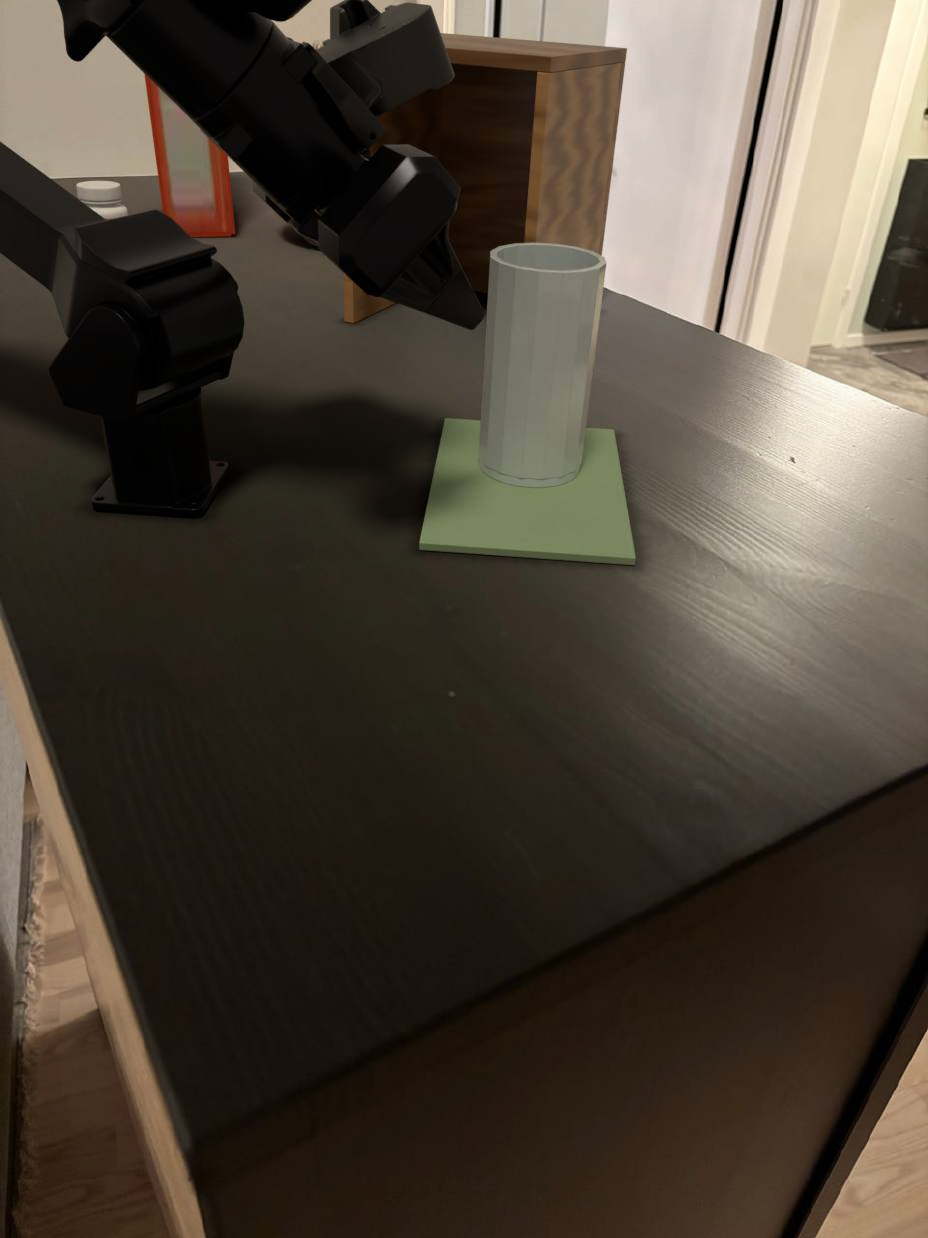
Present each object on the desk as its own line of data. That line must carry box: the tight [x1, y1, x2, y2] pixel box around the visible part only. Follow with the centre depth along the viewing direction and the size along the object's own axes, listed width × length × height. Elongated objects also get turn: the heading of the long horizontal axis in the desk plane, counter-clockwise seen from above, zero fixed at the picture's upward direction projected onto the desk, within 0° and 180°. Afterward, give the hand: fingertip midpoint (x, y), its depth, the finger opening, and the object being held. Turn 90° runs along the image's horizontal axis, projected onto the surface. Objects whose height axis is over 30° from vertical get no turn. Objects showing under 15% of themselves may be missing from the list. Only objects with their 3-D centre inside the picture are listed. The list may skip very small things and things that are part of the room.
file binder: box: [143, 73, 236, 238], centre depth 108 cm, size 8×17×32 cm, turn 14°
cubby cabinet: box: [342, 32, 628, 324], centre depth 83 cm, size 17×18×22 cm
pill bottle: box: [75, 180, 129, 220], centre depth 93 cm, size 5×5×8 cm
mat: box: [418, 417, 637, 566], centre depth 60 cm, size 18×12×1 cm, turn 176°
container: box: [478, 243, 607, 488], centre depth 58 cm, size 7×7×13 cm
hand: (446, 298), depth 54 cm, fingers open, 9 cm apart
